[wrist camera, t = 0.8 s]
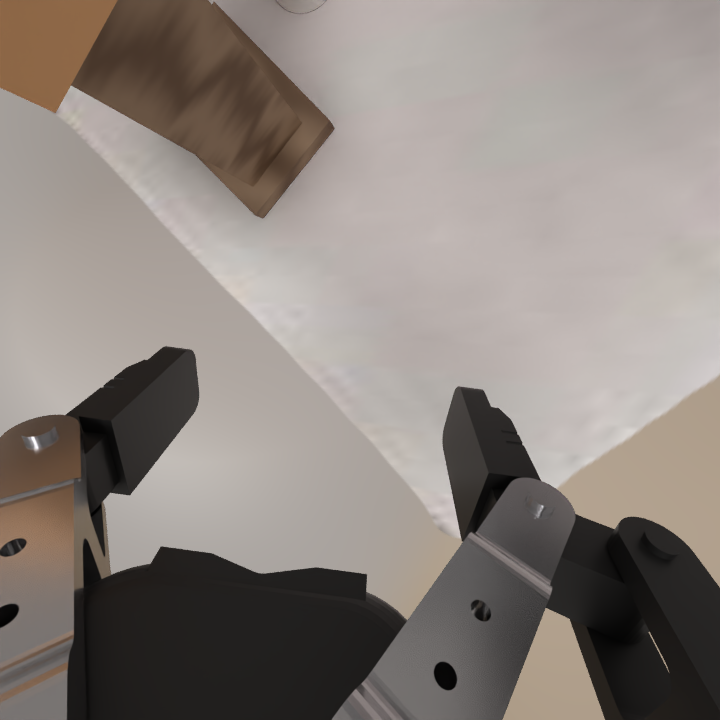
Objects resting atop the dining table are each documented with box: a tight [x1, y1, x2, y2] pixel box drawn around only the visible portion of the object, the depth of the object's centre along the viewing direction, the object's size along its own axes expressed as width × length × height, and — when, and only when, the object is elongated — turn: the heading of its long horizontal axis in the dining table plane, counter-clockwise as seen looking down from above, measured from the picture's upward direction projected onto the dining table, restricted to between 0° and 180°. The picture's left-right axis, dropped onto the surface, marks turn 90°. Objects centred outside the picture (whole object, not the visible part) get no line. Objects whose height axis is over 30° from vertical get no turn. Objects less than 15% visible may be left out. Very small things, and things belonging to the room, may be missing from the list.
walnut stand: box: [71, 0, 334, 218], centre depth 24 cm, size 12×16×33 cm
